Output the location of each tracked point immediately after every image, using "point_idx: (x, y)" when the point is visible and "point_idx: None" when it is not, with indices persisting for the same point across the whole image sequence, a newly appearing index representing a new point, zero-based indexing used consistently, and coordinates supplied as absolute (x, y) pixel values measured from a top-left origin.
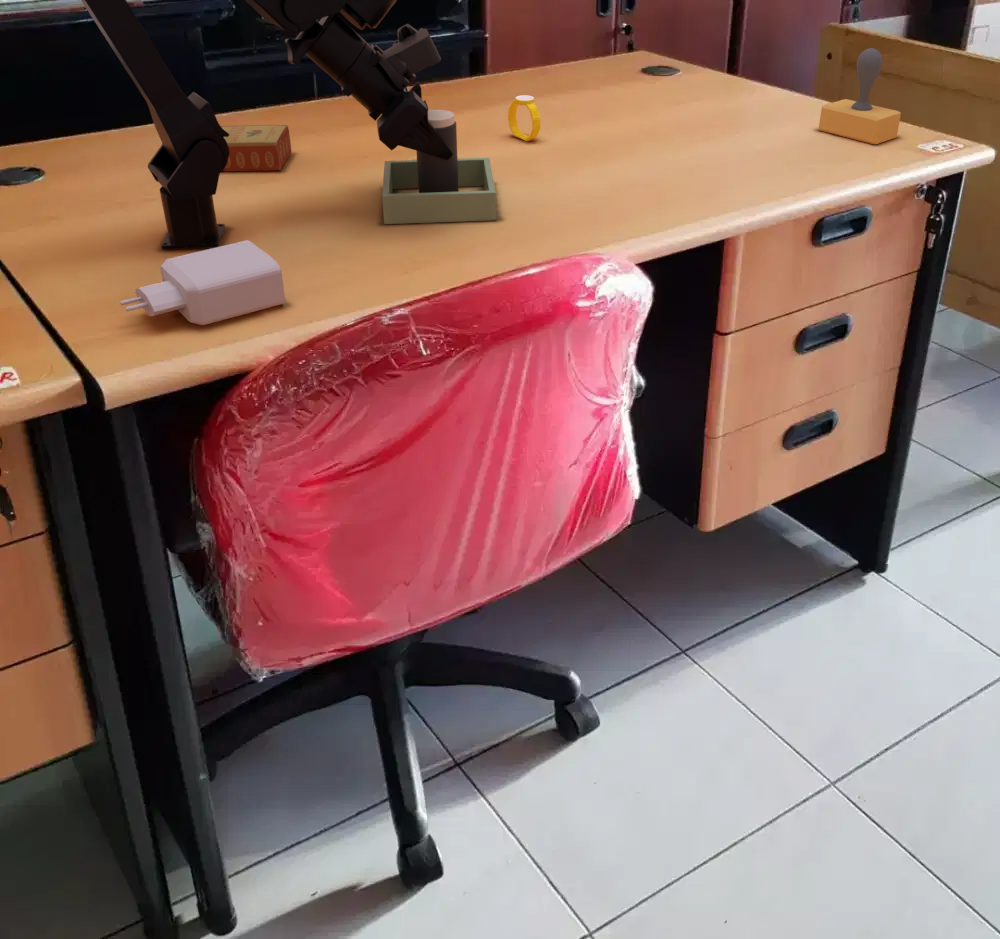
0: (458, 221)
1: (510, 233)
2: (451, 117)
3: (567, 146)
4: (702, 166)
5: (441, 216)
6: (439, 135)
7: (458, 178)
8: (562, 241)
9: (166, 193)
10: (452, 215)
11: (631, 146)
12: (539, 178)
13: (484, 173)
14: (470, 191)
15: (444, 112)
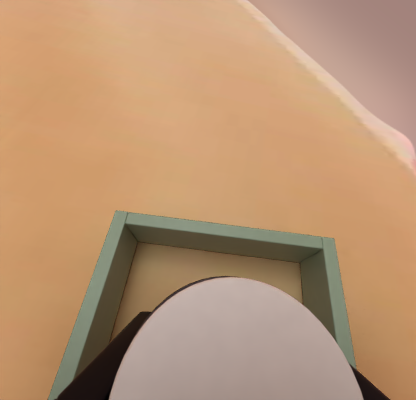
0: None
1: (362, 243)
2: (299, 303)
3: (18, 103)
4: (159, 32)
5: None
6: (362, 389)
7: (119, 287)
8: (382, 186)
9: None
10: None
11: (65, 56)
12: (134, 159)
13: (155, 234)
14: (333, 289)
15: (196, 332)
